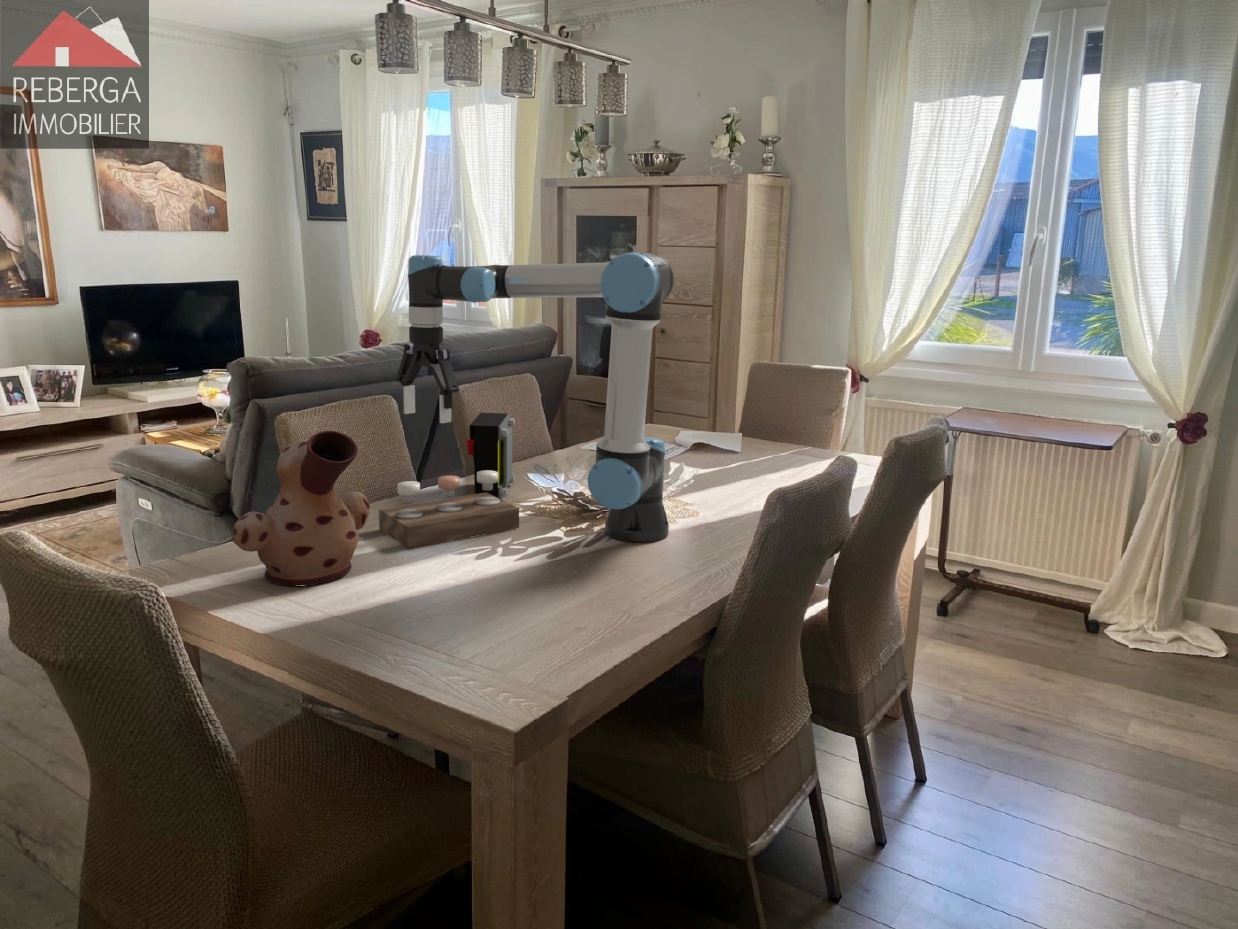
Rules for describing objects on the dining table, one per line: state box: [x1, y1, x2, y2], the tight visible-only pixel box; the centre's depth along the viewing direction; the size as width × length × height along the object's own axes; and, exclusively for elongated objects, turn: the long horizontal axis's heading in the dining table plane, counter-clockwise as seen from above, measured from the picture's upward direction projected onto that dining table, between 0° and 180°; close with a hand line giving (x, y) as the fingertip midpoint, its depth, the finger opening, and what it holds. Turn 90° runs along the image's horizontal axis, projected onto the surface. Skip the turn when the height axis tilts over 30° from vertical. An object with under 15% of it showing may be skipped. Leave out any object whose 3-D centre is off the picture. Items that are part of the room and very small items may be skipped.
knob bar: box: [378, 492, 520, 550], centre depth 216 cm, size 16×28×6 cm, turn 127°
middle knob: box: [437, 475, 461, 497], centre depth 214 cm, size 5×5×4 cm
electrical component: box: [466, 412, 516, 500], centre depth 246 cm, size 18×10×20 cm, turn 179°
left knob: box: [396, 480, 421, 504], centre depth 208 cm, size 5×5×4 cm
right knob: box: [477, 470, 498, 491], centre depth 220 cm, size 5×5×4 cm
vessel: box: [232, 430, 371, 587], centre depth 182 cm, size 29×22×30 cm
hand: (427, 417), depth 213 cm, fingers open, 13 cm apart
